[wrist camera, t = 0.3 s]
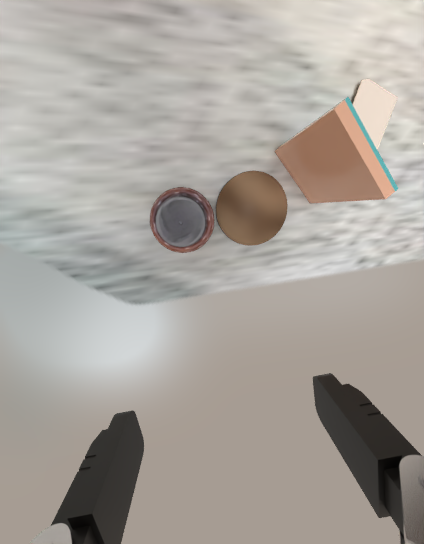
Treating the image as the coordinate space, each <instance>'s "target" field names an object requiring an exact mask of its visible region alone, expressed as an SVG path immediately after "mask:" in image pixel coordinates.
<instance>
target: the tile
mask: <svg viewBox="0 0 424 544" xmlns="http://www.w3.org/2000/svg"><path fill="white" fill-rule="evenodd" d="M275 153H276V154H277V156H278V157H279V159H280V160H281V162H282V163H283V164H284V166H285V167H286V169H287V170H288V172H289V173H290V175H291V176H292V178H293V179H294V181H295V182H296V184H297V185H298V186H299V188H300V189H301V191H302V192H303V194H304V195H305V197H306V198H307V200H308V201H309V203H324V202H342V201H360V200H378V199H386V198H387V197H389V196H390V195H391V194H392V193H394V192H395V191H396V190H397V189H398V187H397V185H396V184H395V182H394V180H393V178H392V176H391V174H390V173H389V171H388V169H387V167H386V165H385V163H384V162H383V160H382V158H381V156H380V154H379V152H378V151H377V149H376V147H375V145H374V143H373V141H372V140H371V138H370V136H369V134H368V132H367V130H366V129H365V127H364V125H363V123H362V121H361V119H360V118H359V116H358V114H357V112H356V110H355V108H354V107H353V105H352V103H351V101H350V99H349V97H347V98H346V99H344V100H343V101H341V102H340V103H339V104H337V105H336V106H335V107H333V108H332V109H330V110H329V111H328V112H326V113H325V114H324V115H322V116H321V117H319V118H318V119H317V120H315V121H314V122H313V123H311V124H310V125H308V126H307V127H306V128H304V129H303V130H302V131H300V132H299V133H297V134H296V135H295V136H293V137H292V138H290V139H289V140H288V141H286V142H285V143H284V144H282V145H281V146H280V147H279V148H278V149H277V150H276V151H275Z"/></svg>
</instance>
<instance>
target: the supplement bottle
mask: <svg viewBox="0 0 424 544" xmlns="http://www.w3.org/2000/svg"><path fill="white" fill-rule="evenodd" d="M150 226H151V229H152V232H153V234H154V236H155V238H156V239H157V240H158V242H159V243H160V244H161V245H163V246H164V247H166V248H167V249H169V250H171V251H175V252H180V253H186V252H191V251H194V250H197V249H198V248H200V247H202V246H203V245H204V244H205V243H206V242H207V241H208V239H209V238H210V236H211V234H212V231H213V228H214V214H213V210H212V208H211V205H210V204H209V202H208V201H207V199H206V198H205V197H204V196H203V195H202V194H200V193H199V192H197V191H195V190H192V189H190V188H183V187H178V188H173V189H170V190H168V191H166V192H164V193H163V194H161V195H160V196H159V197H158V198H157V200H156V201H155V203H154V205H153V207H152V209H151V213H150Z"/></svg>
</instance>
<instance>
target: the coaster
mask: <svg viewBox="0 0 424 544" xmlns="http://www.w3.org/2000/svg"><path fill="white" fill-rule="evenodd" d="M286 214H287V199H286V195H285V192H284V190H283V188H282V186H281V185H280V184H279V182H278V181H277V180H276V179H275V178H273V177H272V176H270V175H268V174H266V173H264V172H259V171H248V172H244V173H241V174H239V175H237V176H235V177H234V178H232V179H231V180H230V181H229V182H228V183H227V184H226V185H225V186H224V187H223V189H222V190H221V192H220V194H219V197H218V200H217V205H216V215H217V220H218V223H219V225H220V227H221V229H222V230H223V232H224V233H225V234H226V235H227V236H228V237H229V238H230V239H232V240H233V241H235V242H237V243H240V244H243V245H258V244H261V243H264V242H266V241H268V240H270V239H271V238H272V237H274V236H275V235H276V234H277V233H278V231H279V230H280V229H281V227H282V225H283V223H284V221H285V218H286Z"/></svg>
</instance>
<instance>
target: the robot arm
mask: <svg viewBox="0 0 424 544" xmlns="http://www.w3.org/2000/svg"><path fill="white" fill-rule="evenodd" d="M313 386H314V397H315V406H316V410H317V413H318V416H319V418H320V420H321V422H322V424H323V426H324V427H325V429H326V430H327V432H328V433H329V435H330V437H331V439H332V440H333V442H334V444H335V446H336V447H337V449H338V450H339V452H340V454H341V455H342V457H343V459H344V461H345V462H346V464H347V465H348V467H349V469H350V471H351V472H352V474H353V476H354V477H355V479H356V480H357V482H358V484H359V485H360V487H361V489H362V491H363V492H364V494H365V496H366V497H367V499H368V500H369V502H370V504H371V506H372V507H373V509H374V511H375V512H376V514H377V516H378V517H379V518H382V517H388V516H391V517H392V519H393V520H394V522H395V523H396V525H397V527H398V528H399V540H400V544H424V456H422V455H421V454H420V453H419V452H418V451H417V450H416V449H415V448H414V447H413V446H412V445H411V444H410V443H409V442H408V441H407V440H406V439H405V438H404V436H403V435H402V434H401V433H400V432H399V431H398V430H397V429H396V428H395V427H394V426H393V425H392V424H391V423H390V422H389V420H388V419H387V418H386V417H385V416H384V415H383V414H381V413H380V411H379V410H378V409H377V408H376V407H375V406H374V405H372V402H371V401H370V400H369V399H368V398H367V397H366V396H365V395H364V394H363V393H362V392H361V391H359V390H358V389H356V388H354V387H353V386H351V385H350V384H345V385H342V384H341V383H340V382H339V381H338V380H337V379H336V378H335V377H334V375H333V374H331V373H329V374H324V375H319V376H314V377H313ZM143 452H144V440H143V436H142V433H141V430H140V426H139V423H138V420H137V417H136V414H135V412H134V411H128V412H123V413H117V414H115V415H114V417H113V419H112V421H111V423H110V426H109V428H108V429H106V430H102V432H101V433H100V434H99V435H98V436H97V438H96V439H95V440H94V441H93V443H92V444H91V446H90V448H89V450H88V452H87V454H86V456H85V460H83V462H82V464H81V466H80V469H79V472H77V474H76V476H75V478H74V480H73V482H72V484H71V486H70V488H69V490H68V492H67V494H66V496H65V498H64V500H63V502H62V505H61V506H60V508H59V510H58V513H57V515H56V517H55V519H54V521H53V522H52V524H51V526H50V527H48V528H46V529H45V530H43V531H42V532H41V533H39V534H38V535H37V536H36V537H35V538H34V539H33V540H32V541H31V542H30V543H29V544H121V541H122V537H123V533H124V529H125V525H126V521H127V517H128V513H129V509H130V505H131V501H132V497H133V493H134V489H135V484H136V481H137V477H138V473H139V469H140V465H141V461H142V457H143Z"/></svg>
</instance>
